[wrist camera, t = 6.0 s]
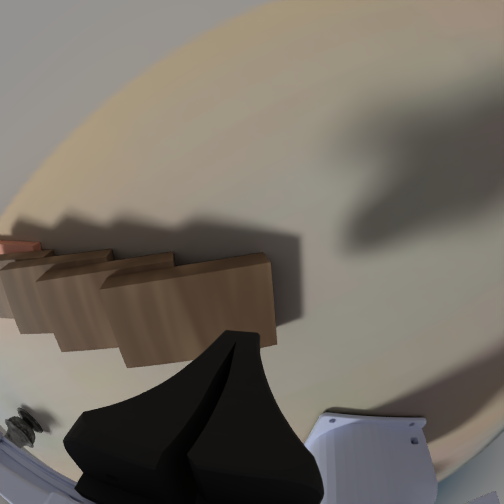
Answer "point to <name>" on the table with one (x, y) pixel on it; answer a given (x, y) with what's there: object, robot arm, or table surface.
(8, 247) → the tile
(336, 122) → the table surface
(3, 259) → the tile
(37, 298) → the tile
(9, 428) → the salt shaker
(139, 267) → the tile
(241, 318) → the tile
